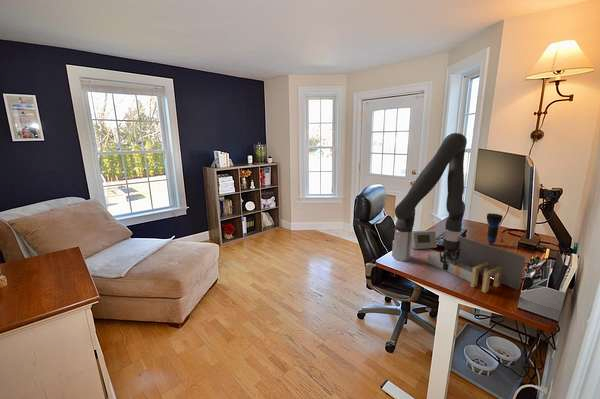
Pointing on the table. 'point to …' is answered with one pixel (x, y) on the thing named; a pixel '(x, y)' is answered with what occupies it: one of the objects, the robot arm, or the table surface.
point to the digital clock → (424, 239)
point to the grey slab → (452, 267)
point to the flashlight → (493, 226)
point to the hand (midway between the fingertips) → (448, 268)
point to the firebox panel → (492, 260)
